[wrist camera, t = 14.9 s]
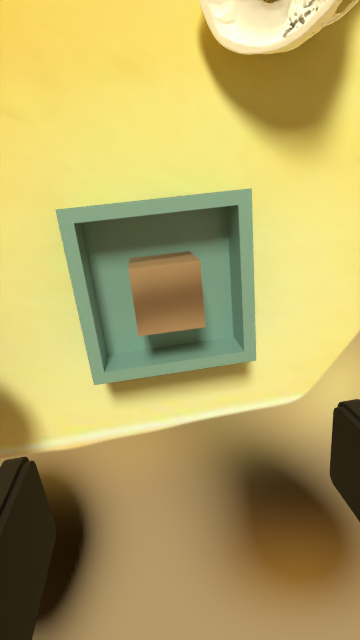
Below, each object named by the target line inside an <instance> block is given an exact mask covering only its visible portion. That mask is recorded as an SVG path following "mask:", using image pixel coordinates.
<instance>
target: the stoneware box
mask: <svg viewBox="0 0 360 640" xmlns="http://www.w3.org/2000/svg"><path fill="white" fill-rule="evenodd" d="M56 214H57V218H58V223H59V228H60V232H61V237H62V241H63V246H64V250H65V255H66V259H67V264H68V269H69V273H70V278H71V282H72V287H73V291H74V296H75V300H76V305H77V310H78V314H79V319H80V323H81V328H82V332H83V337H84V341H85V346H86V350H87V355H88V360H89V364H90V369H91V373H92V378H93V382H94V385H98V384H105V383H112V382H118V381H125V380H131V379H138V378H144V377H151V376H158V375H164V374H171V373H177V372H184V371H191V370H197V369H204V368H210V367H217V366H223V365H230V364H237V363H243V362H250V361H256V335H255V298H254V261H253V224H252V189H242V190H233V191H224V192H215V193H206V194H196V195H187V196H178V197H169V198H159V199H150V200H141V201H132V202H123V203H113V204H104V205H95V206H86V207H77V208H67V209H58V210H56ZM186 251H190V252H191V253H192V254H193V255H195V256H196V257H197V258H198V259H199V260H200V264H201V277H202V290H203V304H204V317H205V327H203V328H196V329H188V330H181V331H174V332H166V333H159V334H152V335H144V336H138V329H137V323H136V316H135V310H134V303H133V296H132V290H131V283H130V277H129V270H128V268H129V261H130V258H135V257H143V256H152V255H160V254H169V253H177V252H186Z"/></svg>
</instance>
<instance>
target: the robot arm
mask: <svg viewBox="0 0 360 640" xmlns="http://www.w3.org/2000/svg"><path fill="white" fill-rule="evenodd" d="M330 477H331V480H332V482H333V484H334V486H335V487H336V489H337V490H338V492H339V493H340V494H341V496H342V497H343V499H344V500H345V501H346V503H347V504H348V506H349V507H350V509H351V510H352V511H353V513H354V514H355V516H356V517H357V519H358V520H359V521H360V400H359V399H355V400H349V401H344V402H340V403H339V404H338V407H337V408H335V409H334V412H333V430H332V444H331V460H330ZM55 539H56V526H55V522H54V519H53V516H52V513H51V510H50V507H49V504H48V501H47V498H46V495H45V492H44V489H43V485H42V482H41V479H40V476H39V473H38V470H37V467H36V464H35V462H34V461H29V460H28V458H27V457H21V458H15V459H9V460H5V461H4V462H3V463H2V465H1V467H0V640H32V636H33V632H34V628H35V624H36V619H37V615H38V611H39V607H40V602H41V598H42V594H43V590H44V586H45V581H46V577H47V573H48V569H49V564H50V560H51V556H52V552H53V548H54V544H55Z"/></svg>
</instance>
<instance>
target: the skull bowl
mask: <svg viewBox="0 0 360 640" xmlns="http://www.w3.org/2000/svg"><path fill="white" fill-rule="evenodd" d="M342 1H343V0H278V1H275V2H273V3H266V2H265V1H264V0H199V3H200V7H201V10H202V13H203V15H204V17H205V20H206V22H207V25H208V27H209V29H210V30H211V32H212V34H213V36H214V37H215V39H216V40H217V41H218V42H219V43H220V44H221V45H222V46H223V47H225V48H227V49H228V50H230V51H232V52H236V53H239V54H245V55H250V54H274V53H280V52H288V51H290V50H293V49H295V48H297V47H298V46H300V45H301V44H302V43H304V42H305V41H306V40H308V39H309V38H311V37H312V36H313V35H315V34H316V33H318V32H319V31H320V30H321V29H322V28H323V27H325V26H327V25H330V24H332V23H334V22H335V21H337V20H339V19H340V18H341V17H342V16H344V15H345V14H346V13H347V12H348V11H349V10H351V8H352V7H354V6H355V5H356V3H357V2H358V1H359V0H353V1H352V2H351V3H350V4H349V6H348V7H347V8H346V9H345V10H344V11H343V12H341V13H338V14H337V13H335V11H336V10H337V8H338V6H339V5H340V3H341V2H342Z"/></svg>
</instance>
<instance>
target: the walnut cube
mask: <svg viewBox="0 0 360 640" xmlns="http://www.w3.org/2000/svg"><path fill="white" fill-rule="evenodd" d="M128 270H129V277H130V283H131V290H132V296H133V303H134V310H135V316H136V323H137V329H138V336H144V335H152V334H159V333H166V332H174V331H181V330H188V329H196V328H203V327H205V317H204V304H203V290H202V277H201V264H200V260H199V259H198V258H197V257H196V256H195V255H193V254H192V253H191V252H190V251H186V252H177V253H169V254H160V255H152V256H143V257H135V258H130V261H129V268H128Z"/></svg>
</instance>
